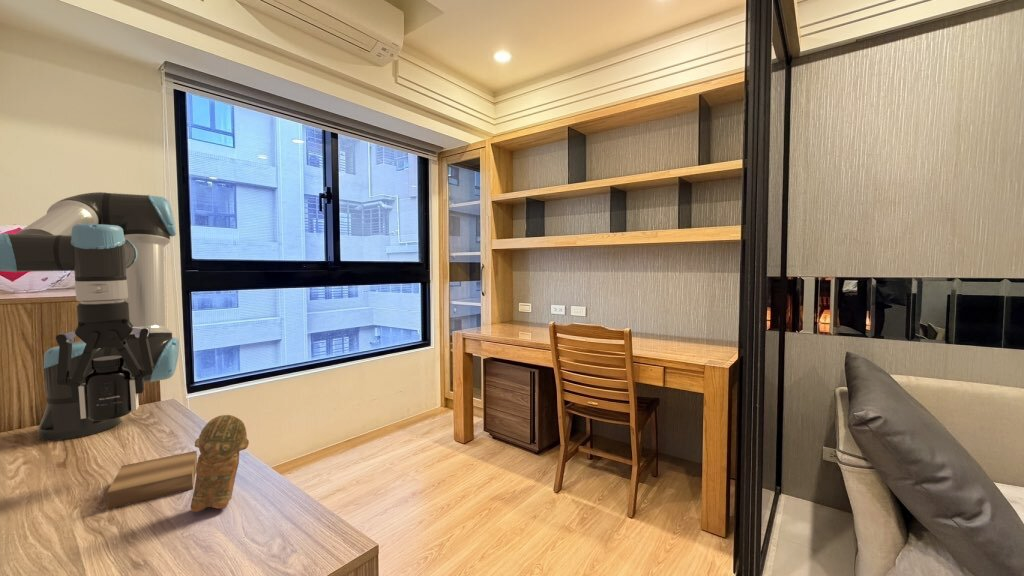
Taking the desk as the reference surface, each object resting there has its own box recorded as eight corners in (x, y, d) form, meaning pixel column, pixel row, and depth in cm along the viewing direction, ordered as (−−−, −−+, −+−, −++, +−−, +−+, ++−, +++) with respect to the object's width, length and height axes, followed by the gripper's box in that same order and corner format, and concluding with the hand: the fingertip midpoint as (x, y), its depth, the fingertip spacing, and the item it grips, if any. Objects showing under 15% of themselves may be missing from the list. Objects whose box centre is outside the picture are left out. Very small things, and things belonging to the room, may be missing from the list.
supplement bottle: (105, 423, 82) (100, 363, 82) (78, 420, 84) (73, 361, 83) (142, 410, 89) (138, 354, 88) (116, 408, 91) (112, 353, 90)
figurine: (189, 520, 71) (184, 434, 70) (199, 497, 78) (195, 418, 77) (248, 507, 75) (244, 424, 74) (252, 486, 82) (249, 410, 81)
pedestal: (122, 480, 85) (122, 465, 84) (197, 464, 91) (196, 450, 91) (108, 509, 75) (107, 492, 74) (192, 488, 81) (191, 473, 81)
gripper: (23, 306, 76) (33, 429, 78) (163, 300, 87) (170, 408, 89) (39, 302, 82) (48, 416, 84) (168, 297, 93) (174, 398, 95)
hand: (110, 412), depth 86 cm, fingers closed on supplement bottle, 7 cm apart
